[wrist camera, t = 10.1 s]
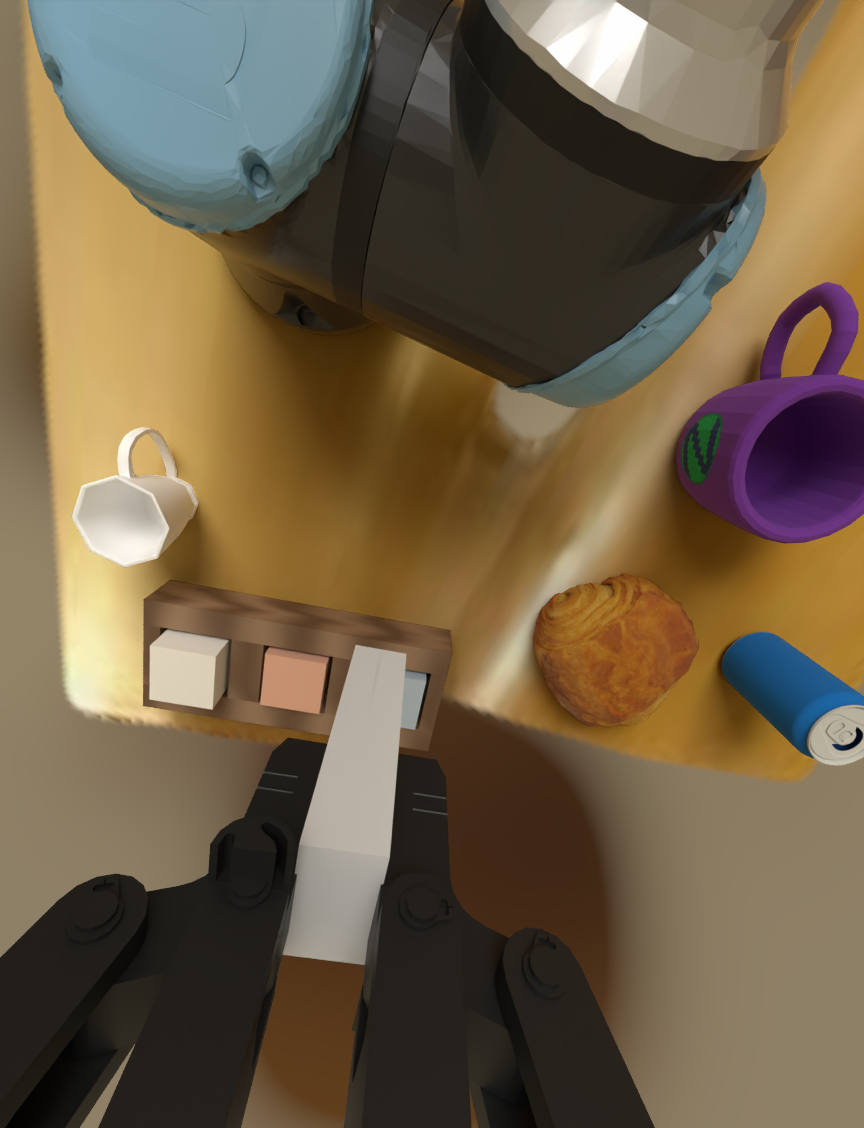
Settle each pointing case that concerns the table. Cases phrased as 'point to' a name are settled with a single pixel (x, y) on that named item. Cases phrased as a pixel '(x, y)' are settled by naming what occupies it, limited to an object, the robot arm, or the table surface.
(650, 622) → the pastry
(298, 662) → the terracotta key
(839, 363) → the mug
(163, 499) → the cup
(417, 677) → the slate key
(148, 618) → the key block
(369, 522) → the table surface
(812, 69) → the table surface
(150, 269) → the table surface
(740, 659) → the beverage can
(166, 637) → the ivory key
